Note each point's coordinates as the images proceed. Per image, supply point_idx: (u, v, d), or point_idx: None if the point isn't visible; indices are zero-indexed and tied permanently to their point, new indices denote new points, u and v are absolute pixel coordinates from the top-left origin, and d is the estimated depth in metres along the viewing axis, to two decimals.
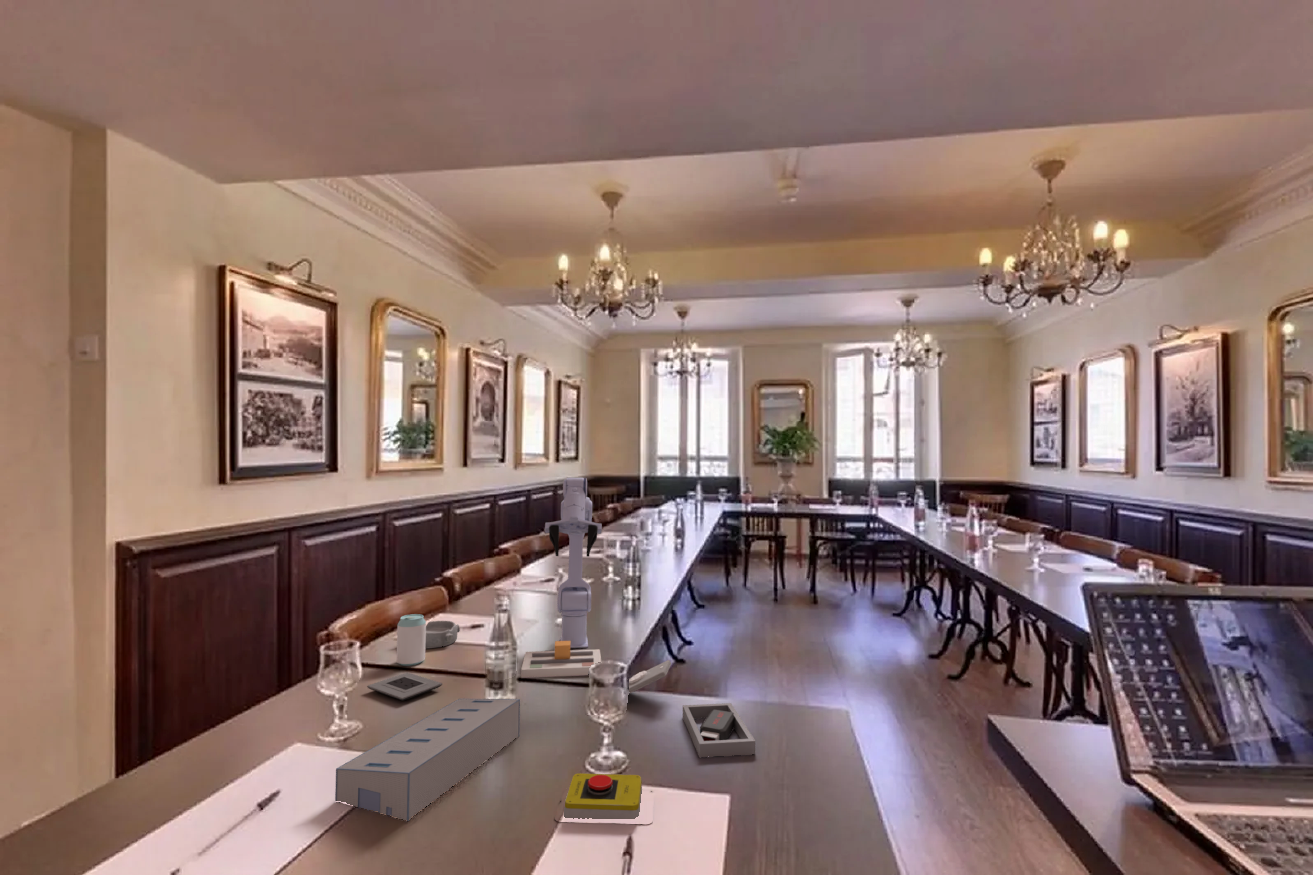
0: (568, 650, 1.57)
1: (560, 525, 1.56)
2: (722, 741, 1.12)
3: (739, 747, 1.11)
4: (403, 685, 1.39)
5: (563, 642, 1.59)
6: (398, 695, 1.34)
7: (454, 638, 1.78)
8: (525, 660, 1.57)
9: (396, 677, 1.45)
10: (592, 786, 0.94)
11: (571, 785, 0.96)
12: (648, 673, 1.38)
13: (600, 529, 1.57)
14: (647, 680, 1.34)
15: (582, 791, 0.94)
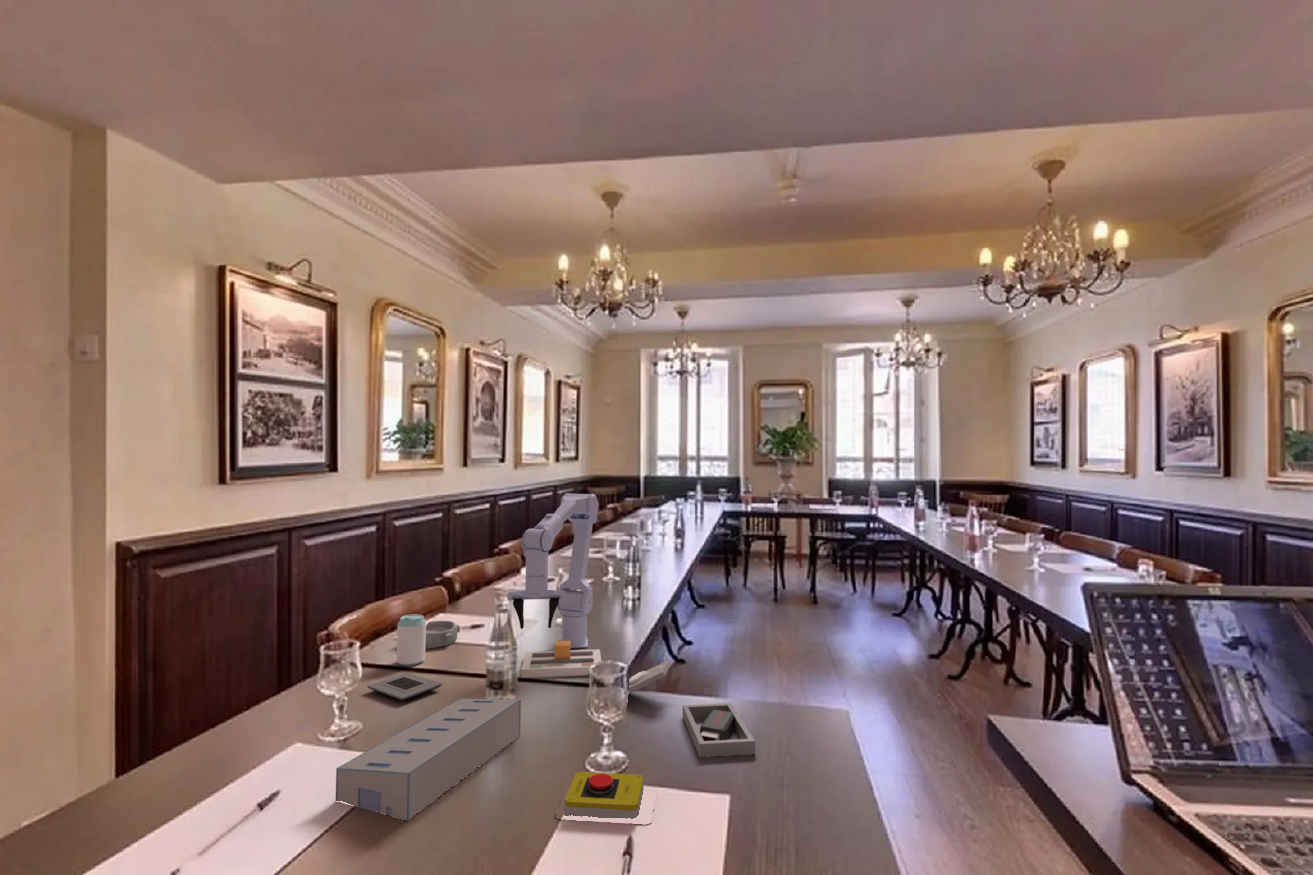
0: (568, 650, 1.57)
1: None
2: (722, 741, 1.12)
3: (739, 747, 1.11)
4: (403, 685, 1.39)
5: (563, 642, 1.59)
6: (398, 695, 1.34)
7: (454, 638, 1.78)
8: (525, 660, 1.57)
9: (396, 677, 1.45)
10: (592, 785, 0.94)
11: (572, 783, 0.96)
12: (647, 673, 1.38)
13: (563, 598, 1.58)
14: (646, 680, 1.33)
15: (583, 789, 0.95)
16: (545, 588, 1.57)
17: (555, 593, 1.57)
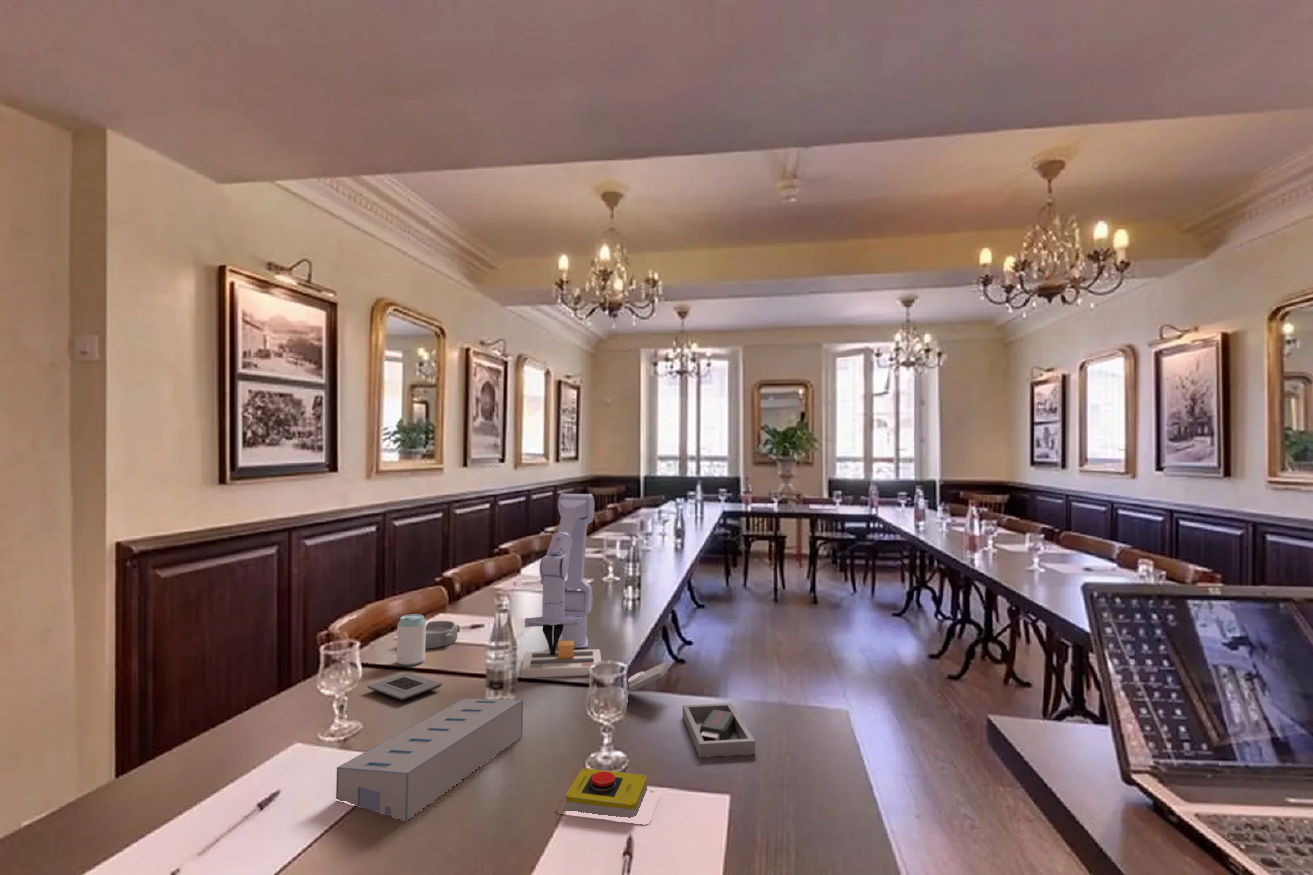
0: (571, 650, 1.57)
1: None
2: (722, 741, 1.12)
3: (739, 747, 1.11)
4: (403, 685, 1.39)
5: (566, 642, 1.59)
6: (398, 695, 1.34)
7: (454, 638, 1.78)
8: (525, 660, 1.57)
9: (396, 677, 1.45)
10: (594, 782, 0.95)
11: (576, 779, 0.98)
12: (645, 674, 1.37)
13: (579, 625, 1.58)
14: (643, 681, 1.33)
15: (585, 786, 0.96)
16: (562, 615, 1.57)
17: (572, 620, 1.58)
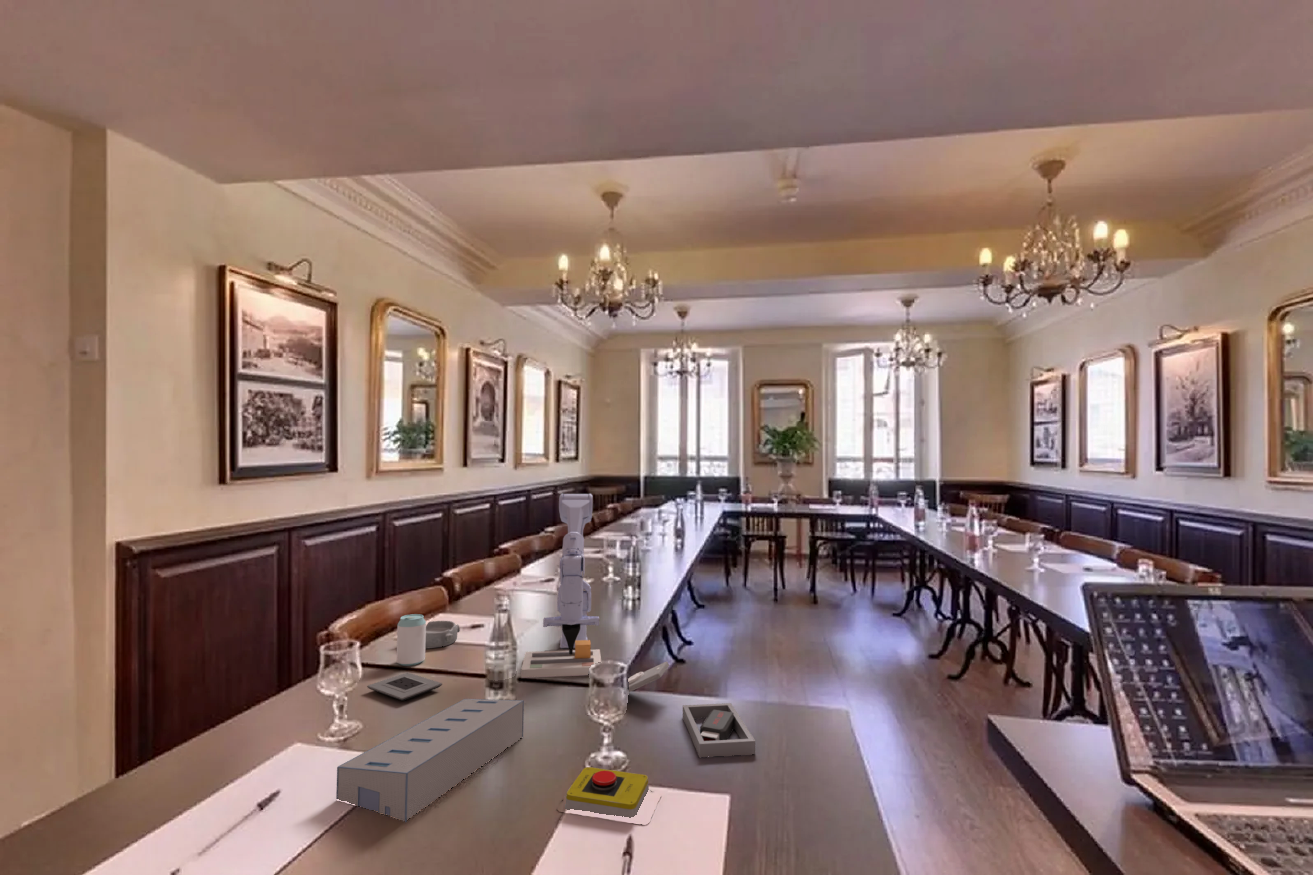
0: (588, 649, 1.57)
1: None
2: (722, 741, 1.12)
3: (739, 747, 1.11)
4: (403, 685, 1.39)
5: (583, 641, 1.60)
6: (398, 695, 1.34)
7: (454, 638, 1.78)
8: (525, 660, 1.57)
9: (396, 677, 1.45)
10: (594, 781, 0.95)
11: (578, 778, 0.98)
12: (645, 674, 1.37)
13: None
14: (642, 681, 1.33)
15: (586, 784, 0.96)
16: (580, 614, 1.58)
17: (590, 619, 1.58)
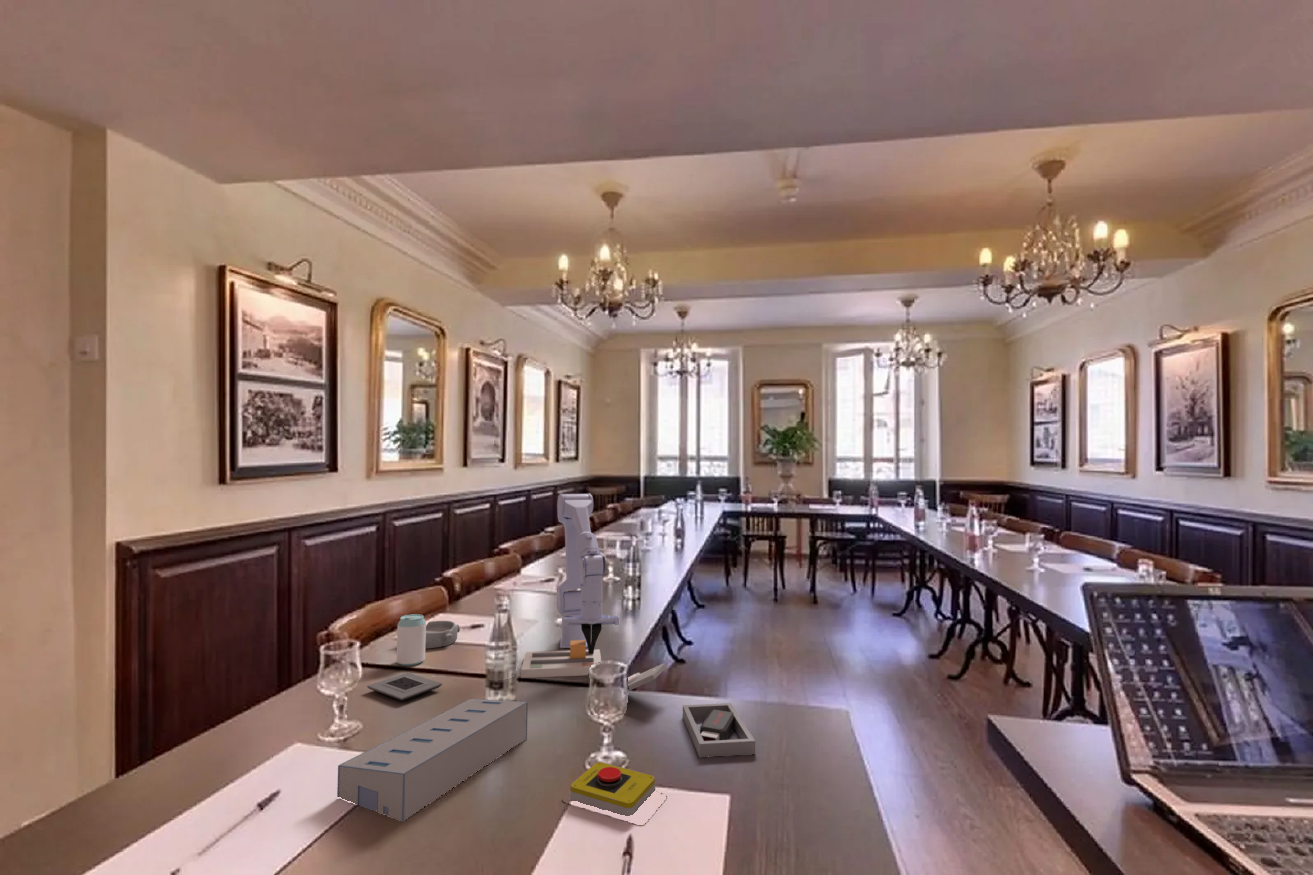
0: (583, 649, 1.57)
1: None
2: (722, 741, 1.12)
3: (739, 747, 1.11)
4: (403, 685, 1.39)
5: (578, 641, 1.60)
6: (398, 695, 1.34)
7: (454, 638, 1.78)
8: (525, 660, 1.57)
9: (396, 677, 1.45)
10: (599, 776, 0.97)
11: (587, 771, 1.00)
12: (641, 675, 1.36)
13: None
14: (637, 682, 1.32)
15: (592, 779, 0.98)
16: (600, 614, 1.59)
17: (610, 619, 1.59)
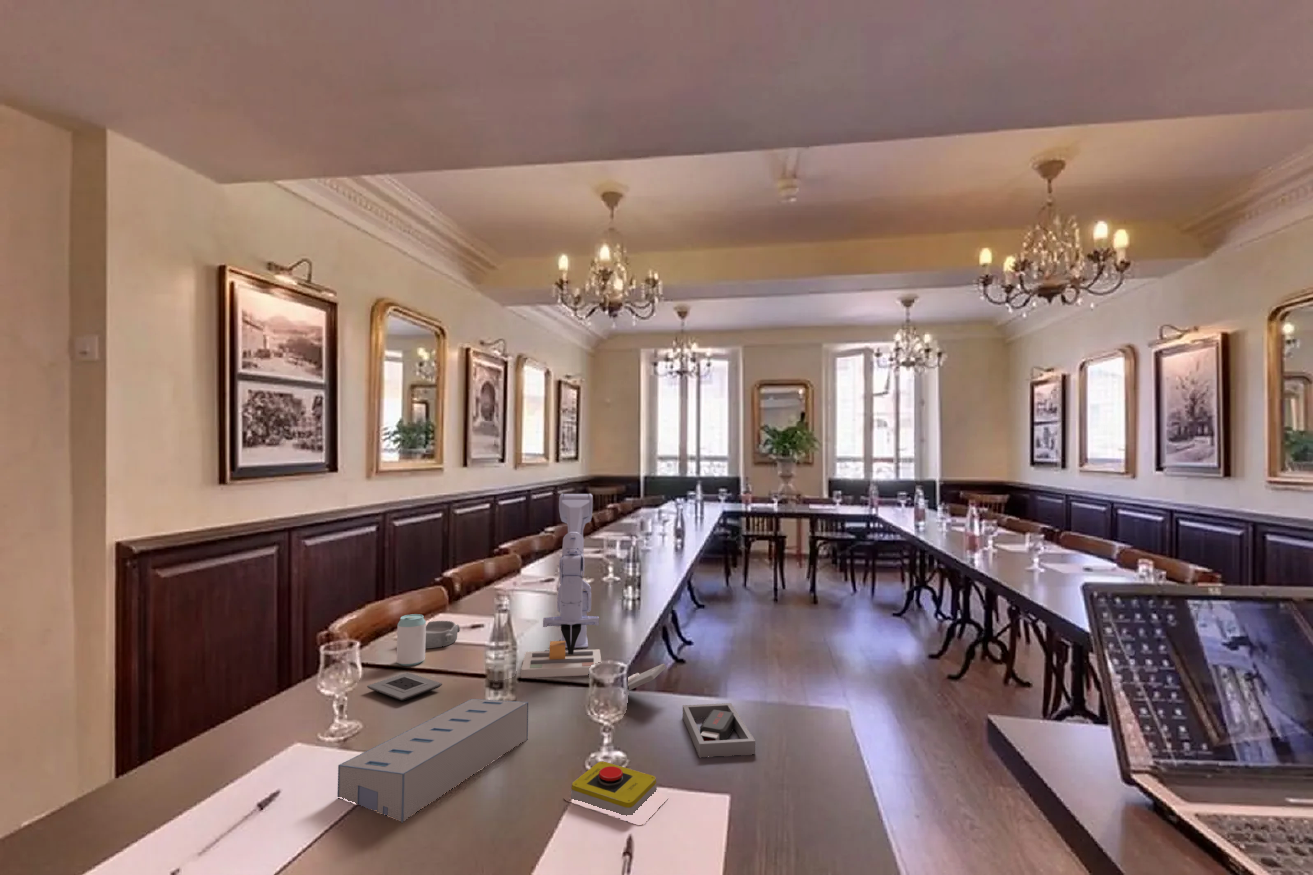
0: (563, 650, 1.56)
1: None
2: (722, 741, 1.12)
3: (739, 747, 1.11)
4: (403, 685, 1.39)
5: (558, 642, 1.59)
6: (398, 695, 1.34)
7: (454, 638, 1.78)
8: (525, 660, 1.57)
9: (396, 677, 1.45)
10: (600, 775, 0.97)
11: (589, 770, 1.00)
12: (640, 675, 1.36)
13: None
14: (635, 682, 1.32)
15: (594, 778, 0.98)
16: (580, 614, 1.58)
17: (590, 619, 1.58)
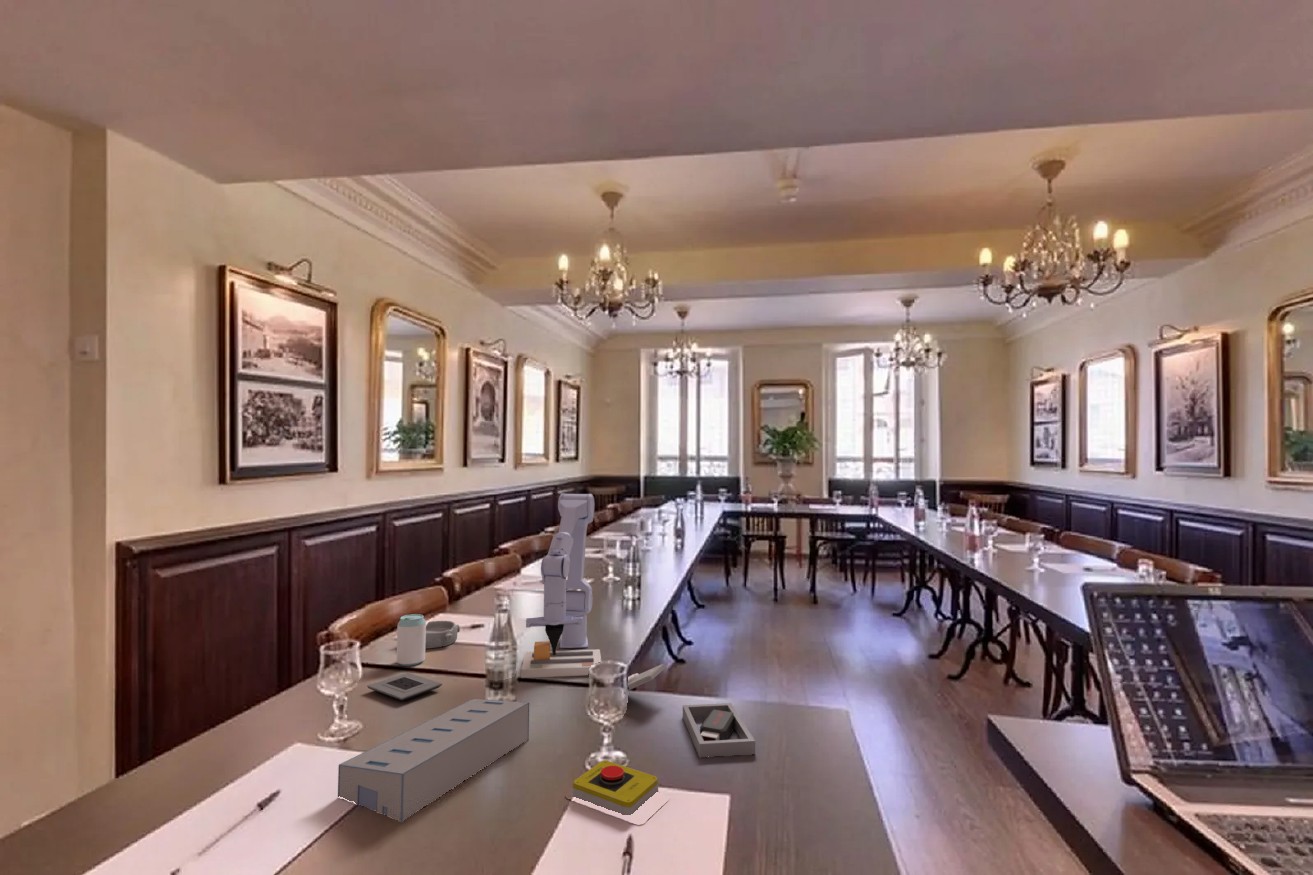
0: (547, 651, 1.56)
1: None
2: (722, 741, 1.12)
3: (739, 747, 1.11)
4: (403, 685, 1.39)
5: (543, 642, 1.59)
6: (398, 695, 1.34)
7: (454, 638, 1.78)
8: (525, 660, 1.57)
9: (396, 677, 1.45)
10: (601, 774, 0.97)
11: (591, 769, 1.01)
12: (639, 676, 1.36)
13: (581, 625, 1.58)
14: (634, 683, 1.32)
15: (596, 776, 0.99)
16: (563, 615, 1.57)
17: (573, 620, 1.58)
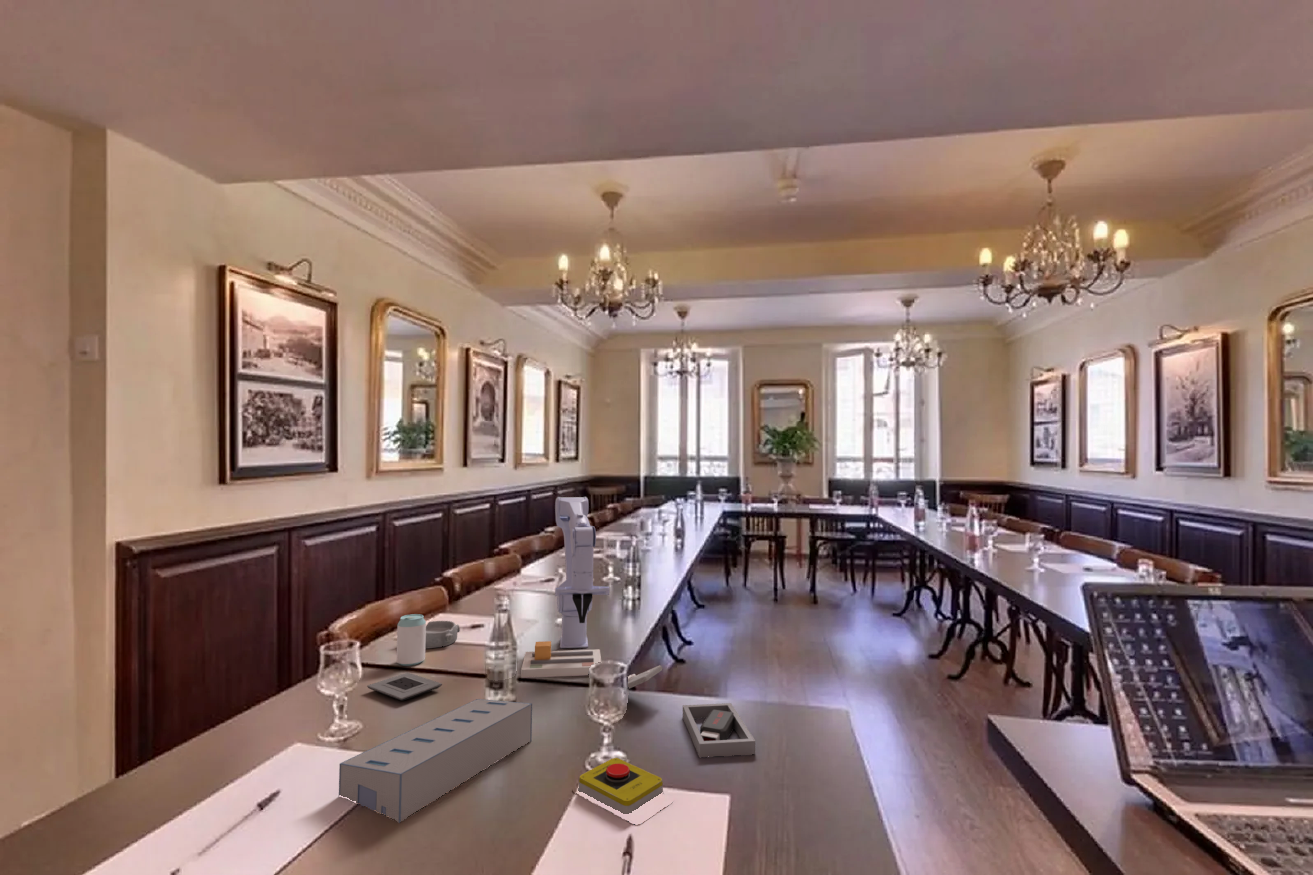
0: (548, 651, 1.56)
1: None
2: (722, 741, 1.12)
3: (739, 747, 1.11)
4: (403, 685, 1.39)
5: (543, 642, 1.59)
6: (397, 695, 1.34)
7: (454, 638, 1.78)
8: (525, 660, 1.57)
9: (396, 677, 1.45)
10: (606, 771, 0.98)
11: (600, 765, 1.02)
12: (636, 677, 1.35)
13: (608, 594, 1.64)
14: (629, 683, 1.31)
15: (602, 773, 1.00)
16: (591, 584, 1.62)
17: (601, 589, 1.63)
